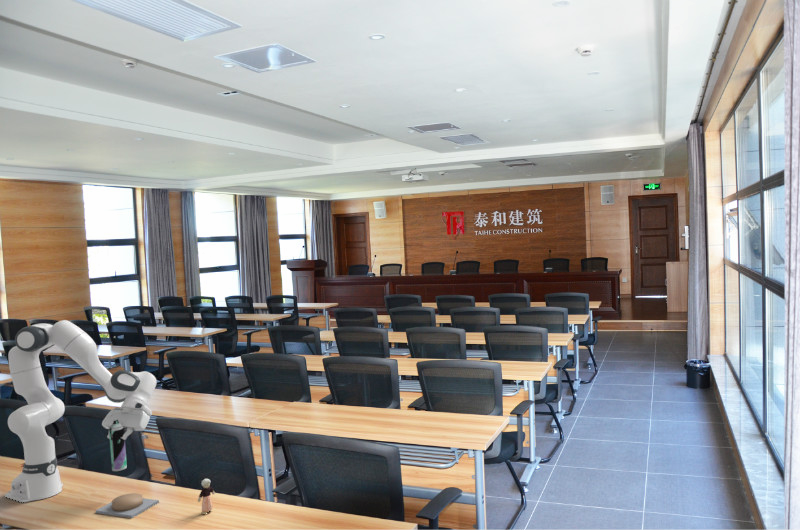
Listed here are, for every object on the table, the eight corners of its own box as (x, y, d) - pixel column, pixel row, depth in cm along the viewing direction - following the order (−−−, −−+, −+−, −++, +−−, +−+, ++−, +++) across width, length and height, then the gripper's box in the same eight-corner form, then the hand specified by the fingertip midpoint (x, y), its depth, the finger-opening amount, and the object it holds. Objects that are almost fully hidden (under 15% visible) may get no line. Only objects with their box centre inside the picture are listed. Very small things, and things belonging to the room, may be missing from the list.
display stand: (95, 513, 231) (94, 504, 231) (123, 498, 244) (123, 489, 244) (132, 518, 225) (131, 509, 225) (159, 502, 238) (158, 494, 238)
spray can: (121, 471, 241) (117, 422, 240) (109, 471, 242) (105, 422, 241) (129, 466, 246) (126, 418, 246) (118, 466, 247) (114, 418, 247)
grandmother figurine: (205, 516, 223) (203, 482, 223) (197, 515, 225) (195, 482, 224) (218, 507, 231) (216, 475, 230) (210, 506, 232) (208, 474, 231)
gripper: (108, 403, 253) (91, 433, 244) (147, 405, 246) (131, 436, 238) (117, 411, 258) (101, 440, 249) (155, 413, 251) (140, 443, 242)
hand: (115, 438), depth 243 cm, fingers closed on spray can, 5 cm apart
